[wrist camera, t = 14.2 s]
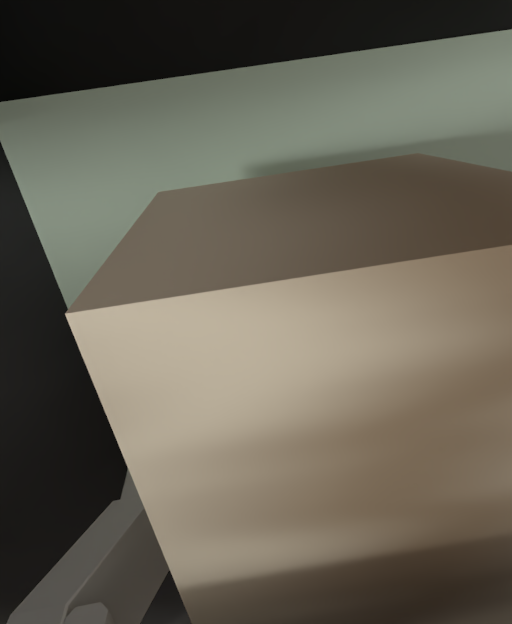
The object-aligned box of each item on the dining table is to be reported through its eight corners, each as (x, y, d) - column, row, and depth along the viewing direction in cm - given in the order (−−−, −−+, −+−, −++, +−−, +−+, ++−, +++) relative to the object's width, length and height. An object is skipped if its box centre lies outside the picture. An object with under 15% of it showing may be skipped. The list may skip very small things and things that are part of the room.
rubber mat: (167, 538, 16) (166, 552, 16) (-1, 104, 9) (-15, 104, 8) (449, 490, 16) (457, 503, 16) (524, 29, 9) (544, 24, 8)
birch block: (261, 794, 8) (64, 314, 3) (246, 559, 13) (158, 191, 7) (486, 755, 9) (719, 213, 3) (394, 535, 13) (417, 153, 7)
